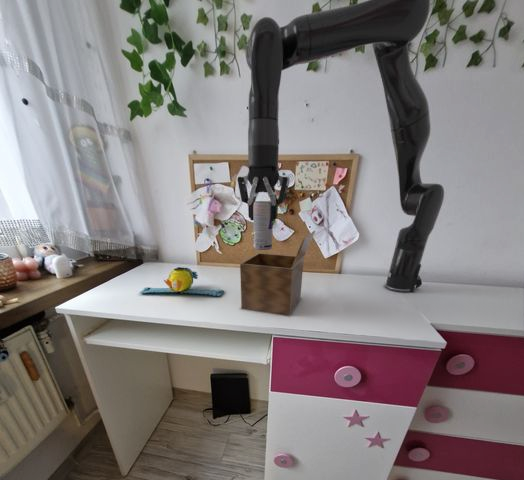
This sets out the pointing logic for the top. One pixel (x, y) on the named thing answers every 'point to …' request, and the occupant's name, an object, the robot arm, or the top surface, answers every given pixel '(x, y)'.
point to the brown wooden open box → (271, 283)
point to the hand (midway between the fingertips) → (263, 220)
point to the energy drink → (262, 225)
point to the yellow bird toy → (182, 283)
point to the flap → (303, 247)
